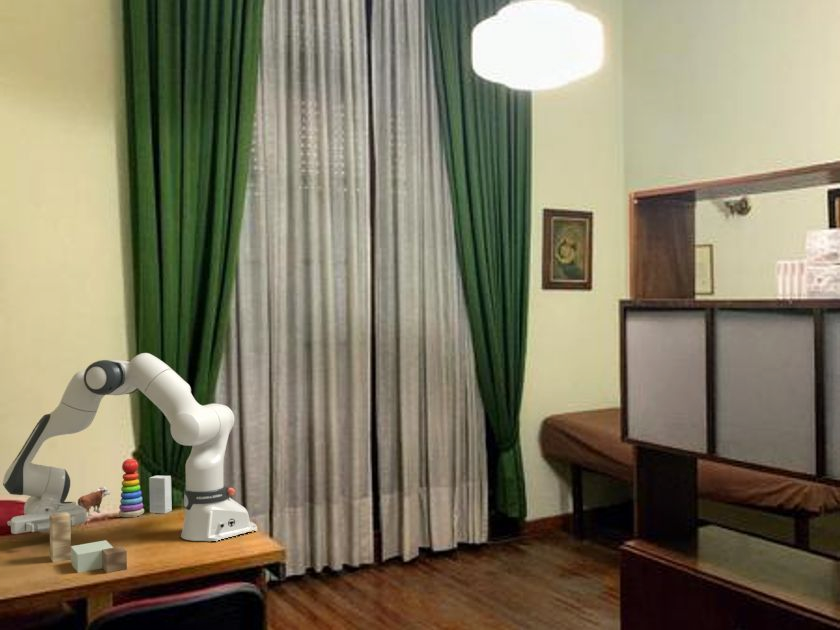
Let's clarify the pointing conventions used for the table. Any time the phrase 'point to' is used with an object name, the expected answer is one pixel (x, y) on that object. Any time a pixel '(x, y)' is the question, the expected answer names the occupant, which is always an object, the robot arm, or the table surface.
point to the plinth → (88, 556)
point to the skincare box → (160, 494)
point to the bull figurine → (93, 500)
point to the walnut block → (114, 559)
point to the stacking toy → (130, 491)
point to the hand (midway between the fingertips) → (53, 526)
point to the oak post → (60, 537)
